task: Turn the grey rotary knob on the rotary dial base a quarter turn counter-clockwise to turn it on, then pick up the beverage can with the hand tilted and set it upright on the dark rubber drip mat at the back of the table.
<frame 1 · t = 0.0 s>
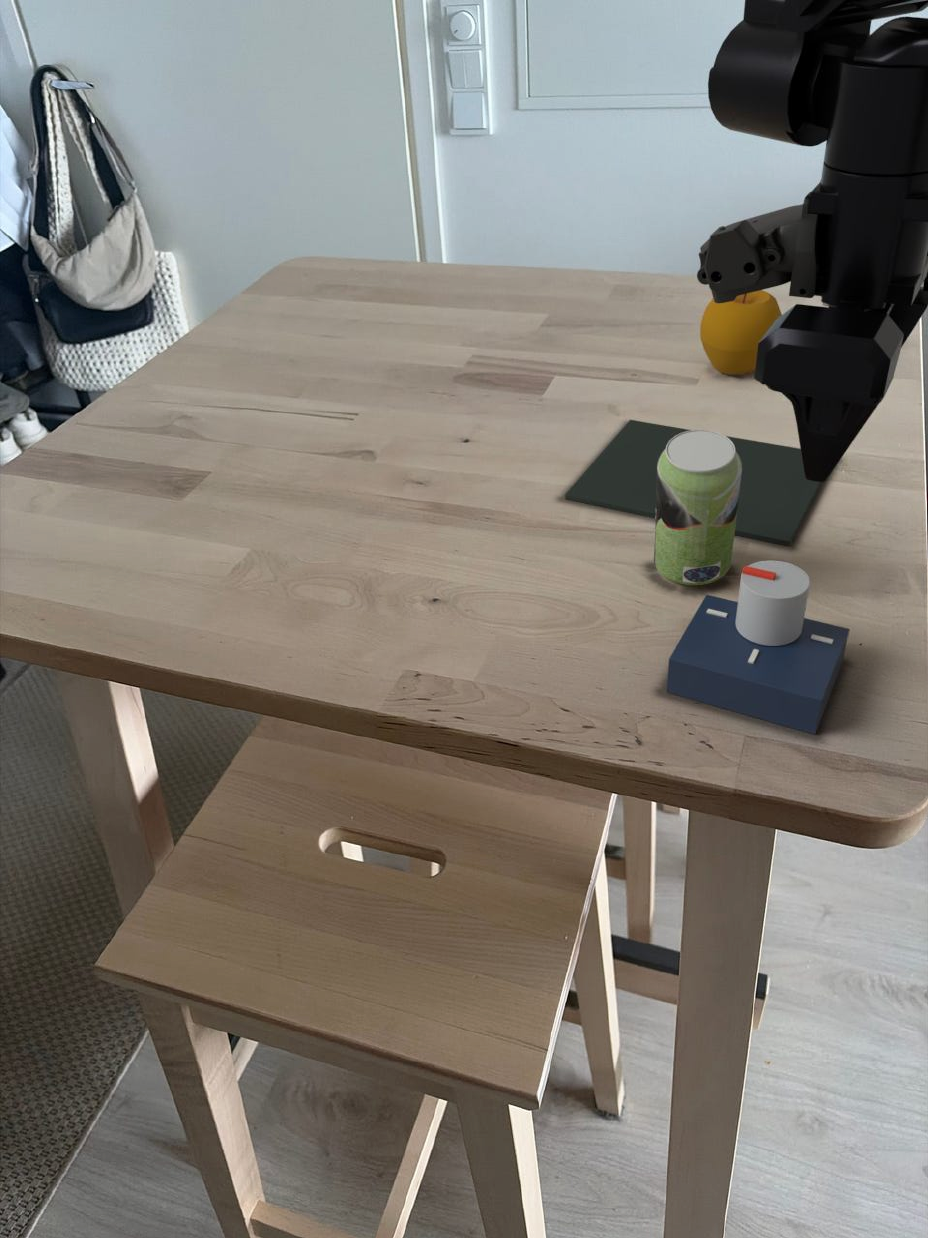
hand: (834, 444, 59), 17 cm above the table, tool pointing down, fingers open, 9 cm apart
apple: (735, 372, 109), on the table
drip mat: (701, 478, 91), on the table
grey rotary knob: (772, 601, 67), point 5 cm above the table, hinge at 0.0°
rotary dial base: (755, 677, 69), on the table
beverage can: (690, 577, 79), on the table
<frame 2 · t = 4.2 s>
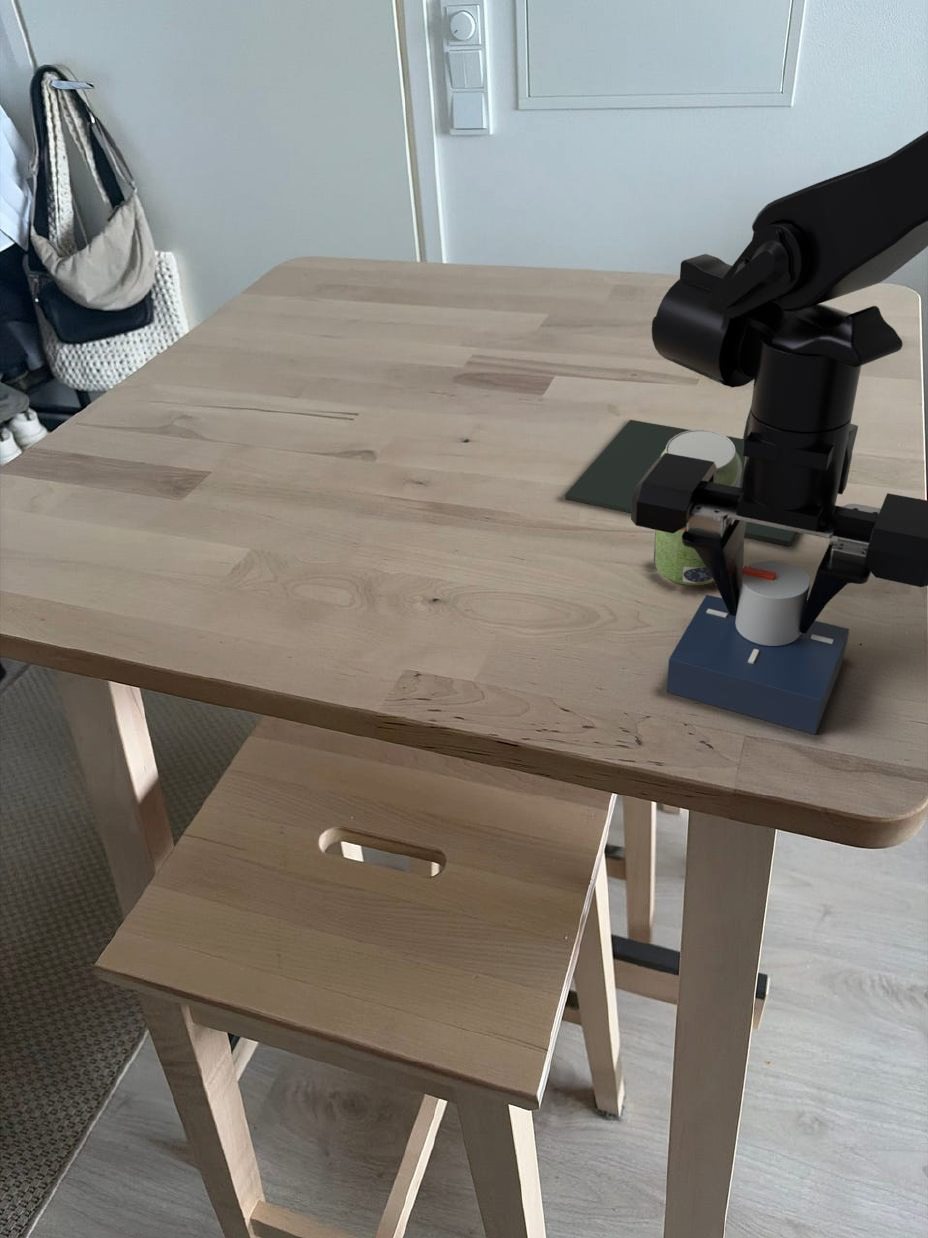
hand: (769, 620, 68), 4 cm above the table, tool pointing down, fingers closed on grey rotary knob, 4 cm apart
grey rotary knob: (772, 601, 67), point 5 cm above the table, hinge at 0.0°, touching gripper
everything else where it was.
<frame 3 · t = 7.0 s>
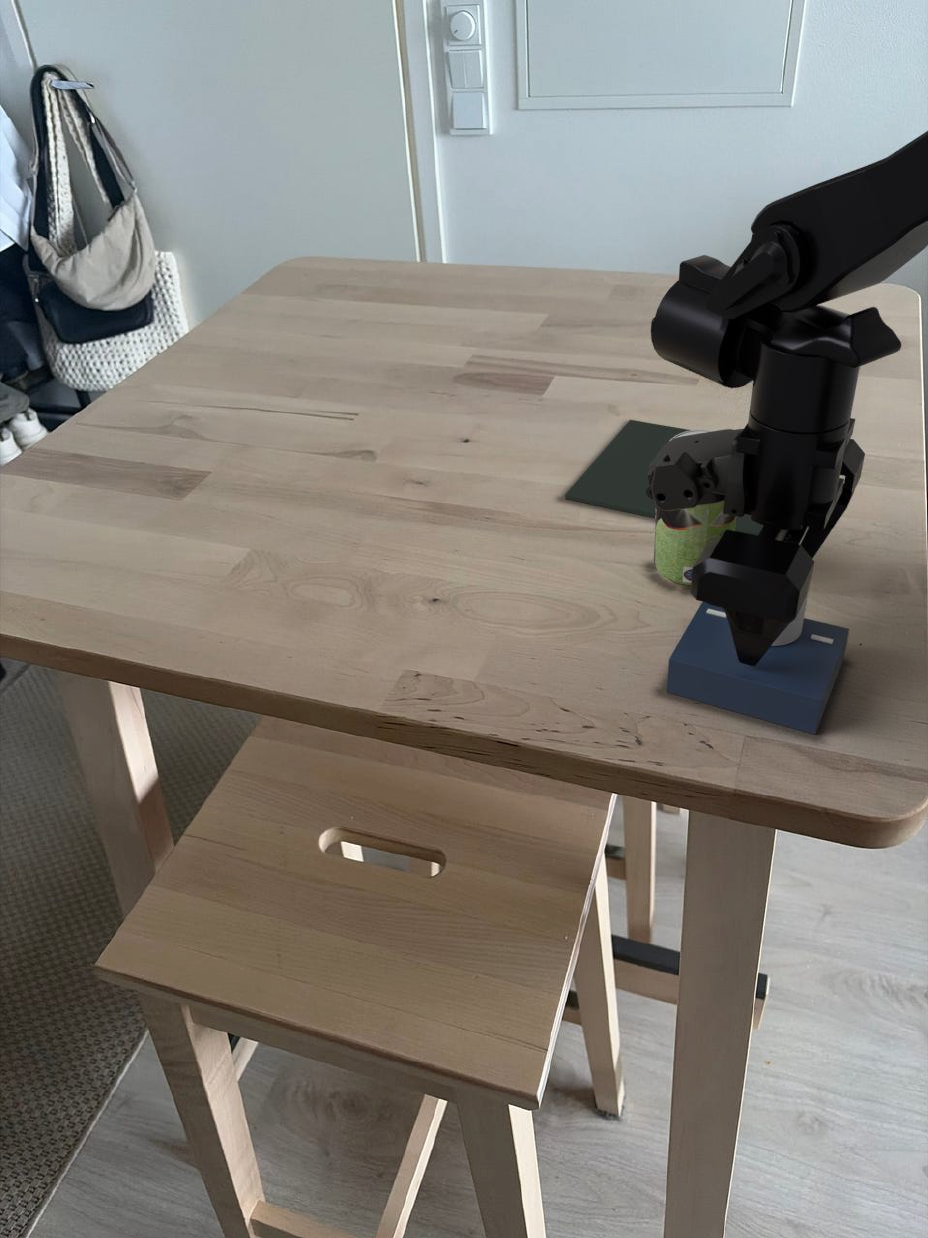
hand: (767, 621, 68), 3 cm above the table, tool pointing down, fingers open, 9 cm apart
grey rotary knob: (772, 601, 67), point 5 cm above the table, hinge at 90.2°
everything else where it was.
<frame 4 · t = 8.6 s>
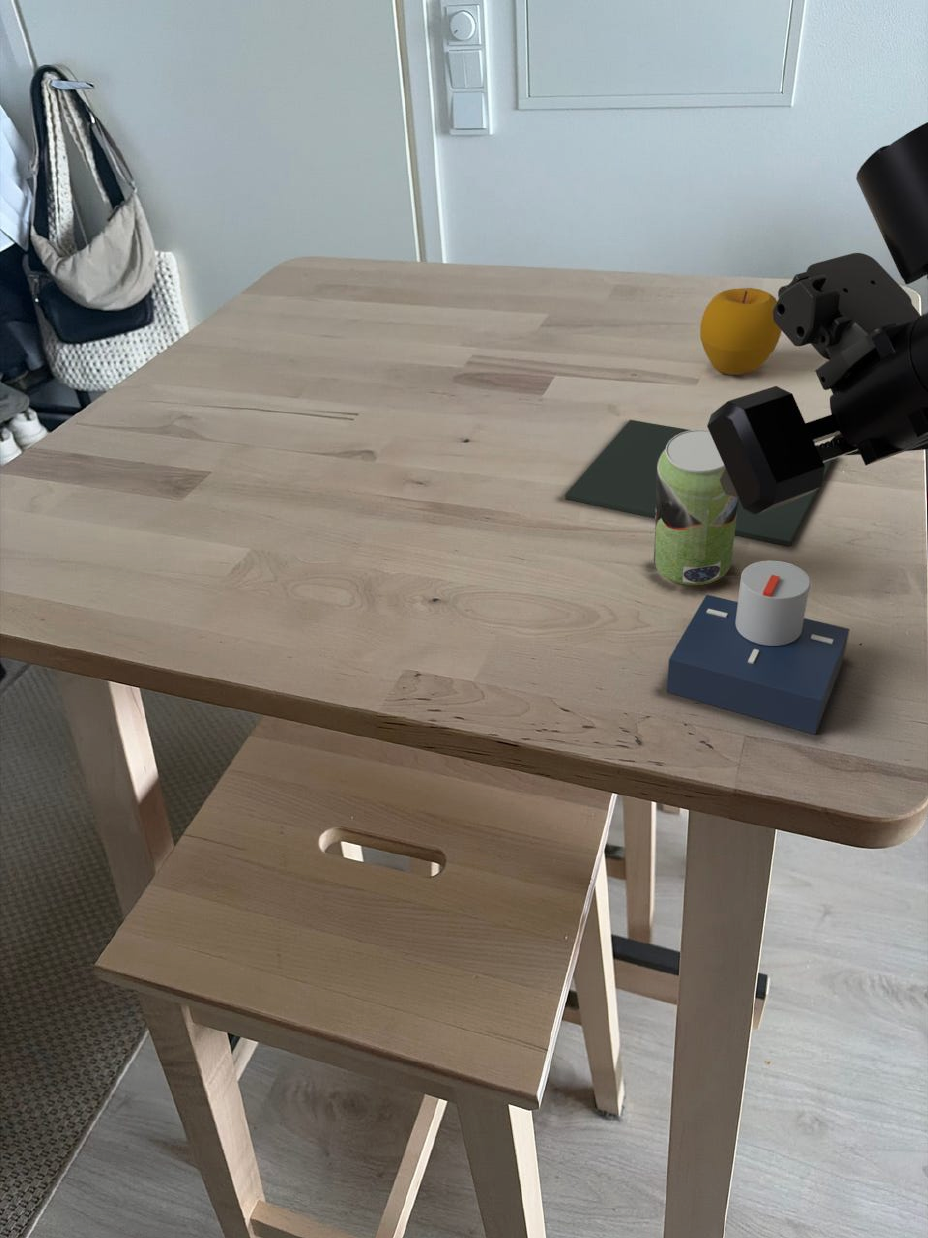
hand: (780, 467, 65), 13 cm above the table, tool tilted 45°, fingers open, 9 cm apart
nothing on the table moved.
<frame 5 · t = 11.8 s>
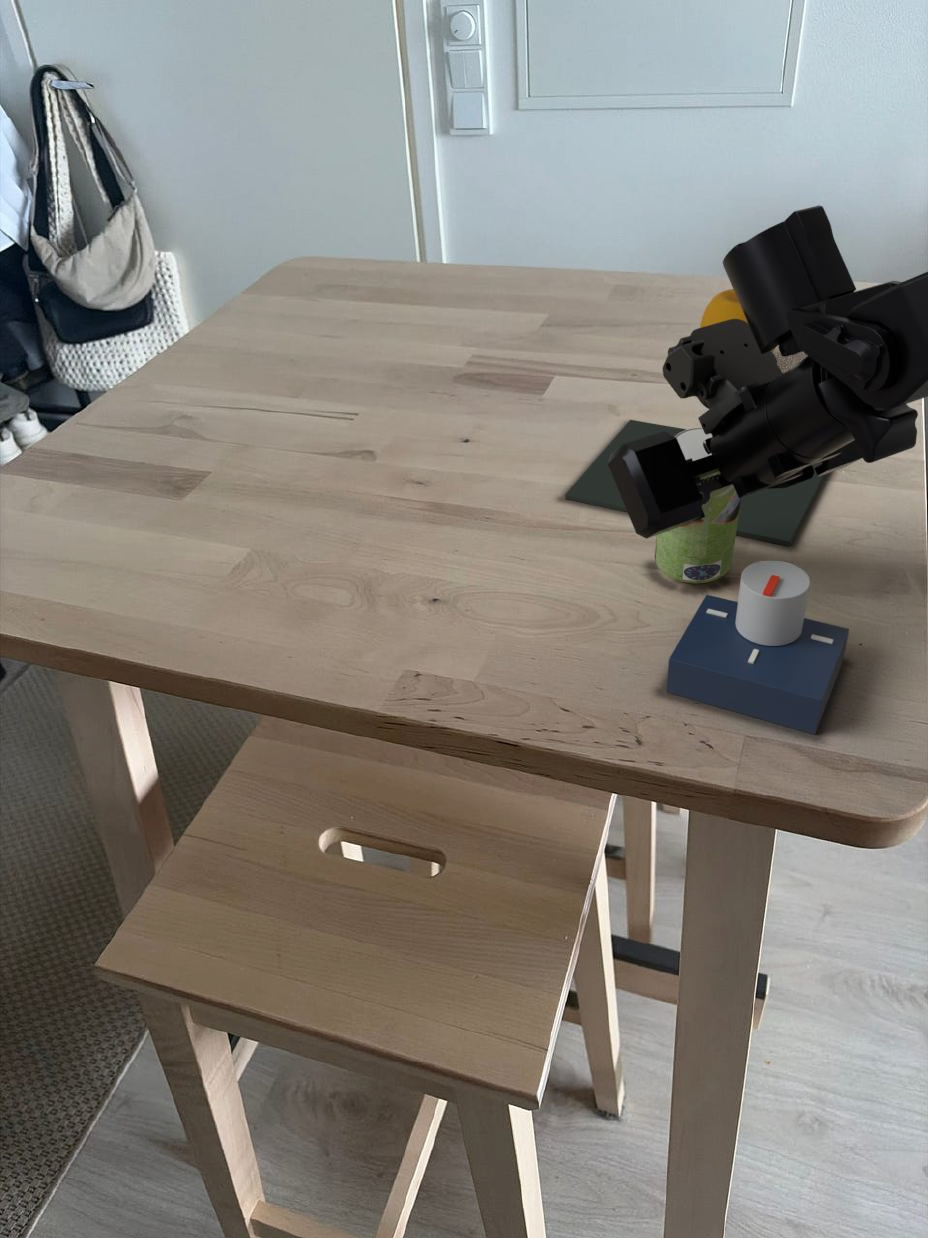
hand: (680, 493, 76), 7 cm above the table, tool tilted 45°, fingers closed on beverage can, 6 cm apart
beverage can: (690, 575, 79), on the table, touching gripper
everything else where it was.
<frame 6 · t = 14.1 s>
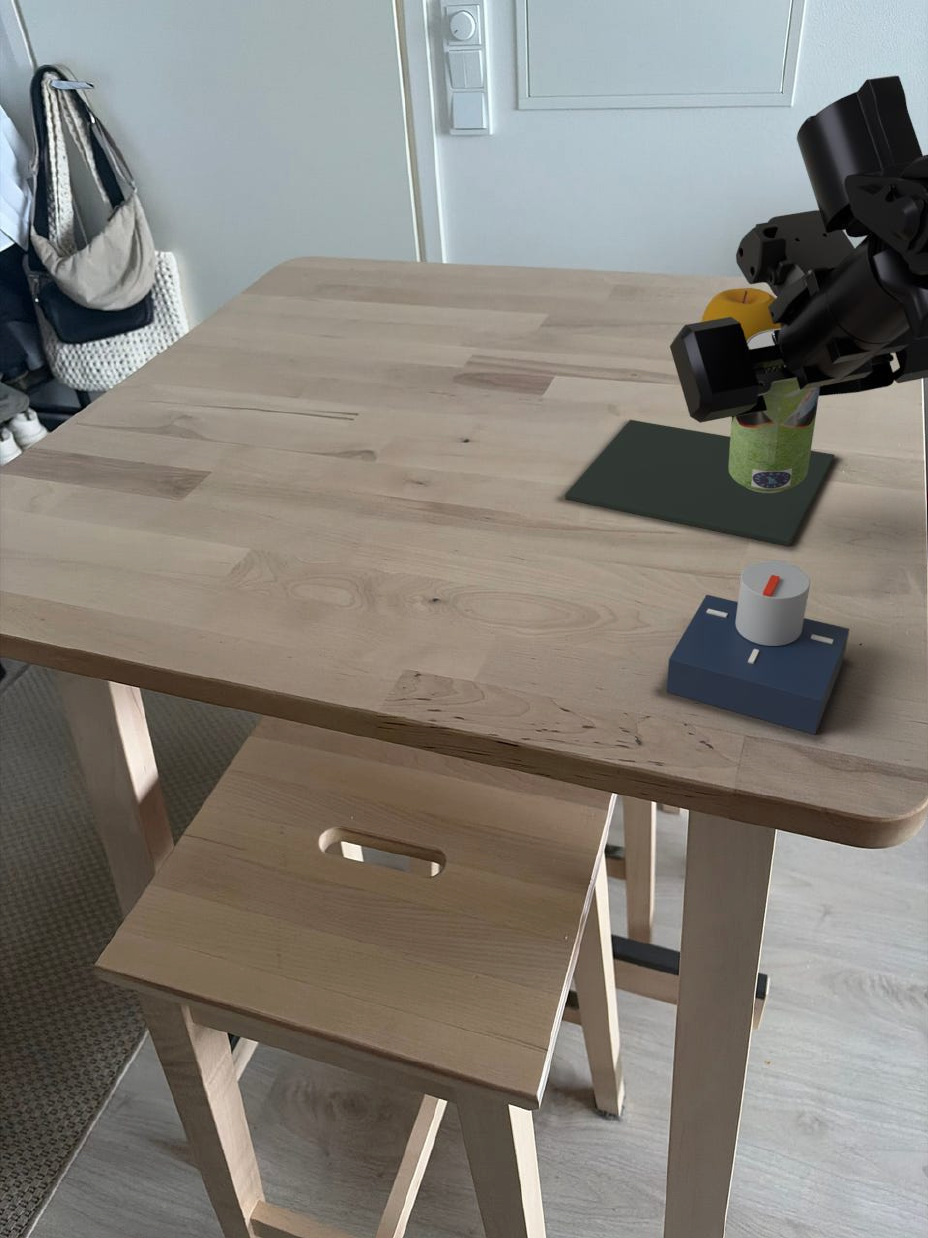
hand: (758, 398, 75), 12 cm above the table, tool tilted 45°, fingers closed on beverage can, 6 cm apart
beverage can: (763, 486, 78), point 6 cm above the table, touching gripper
everything else where it was.
when the fingers open (7 cm above the table, at t = 16.5 s): beverage can stays where it is, resting on drip mat.
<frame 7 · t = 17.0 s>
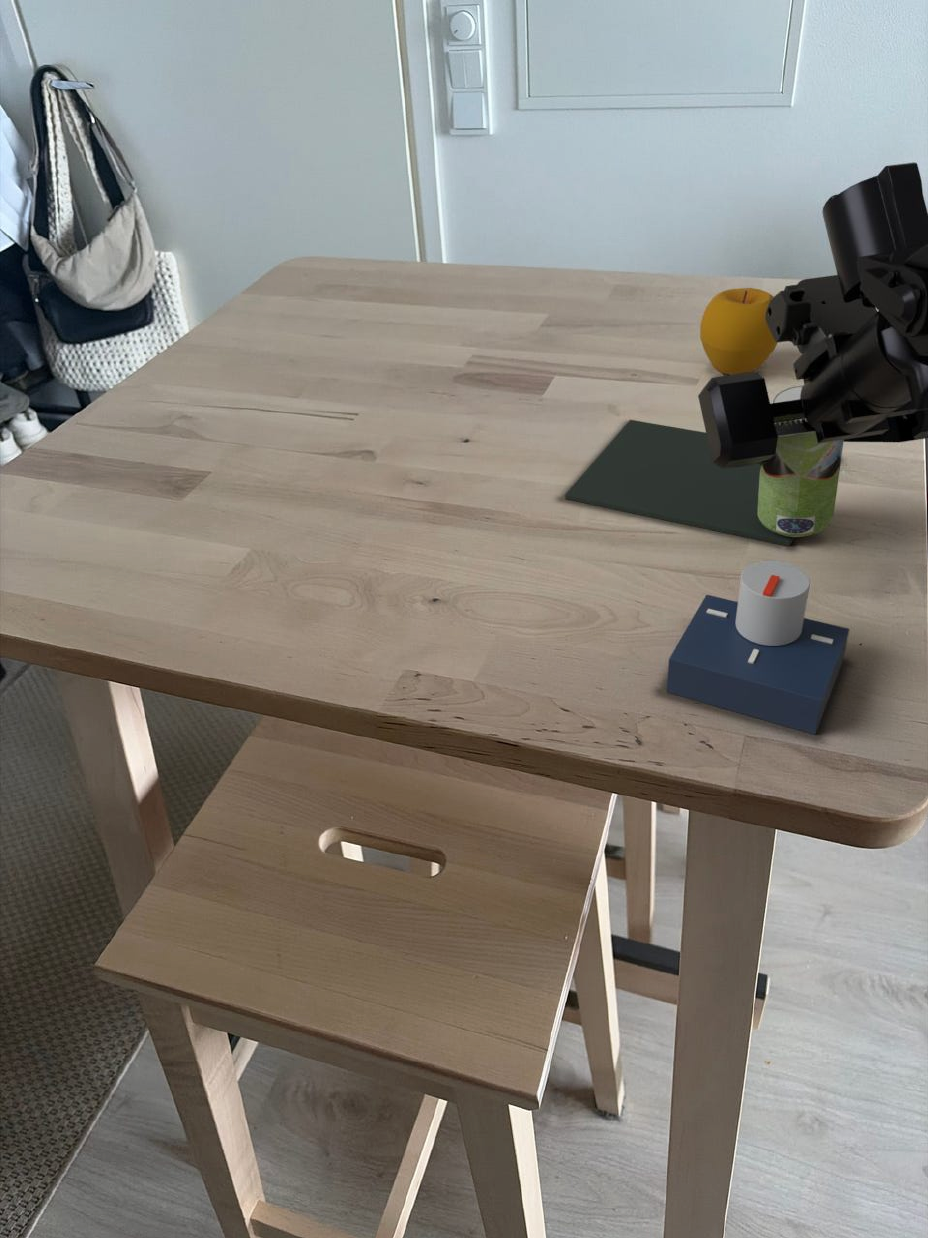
hand: (787, 443, 80), 8 cm above the table, tool tilted 45°, fingers open, 9 cm apart
beverage can: (789, 529, 83), resting on drip mat
everything else where it was.
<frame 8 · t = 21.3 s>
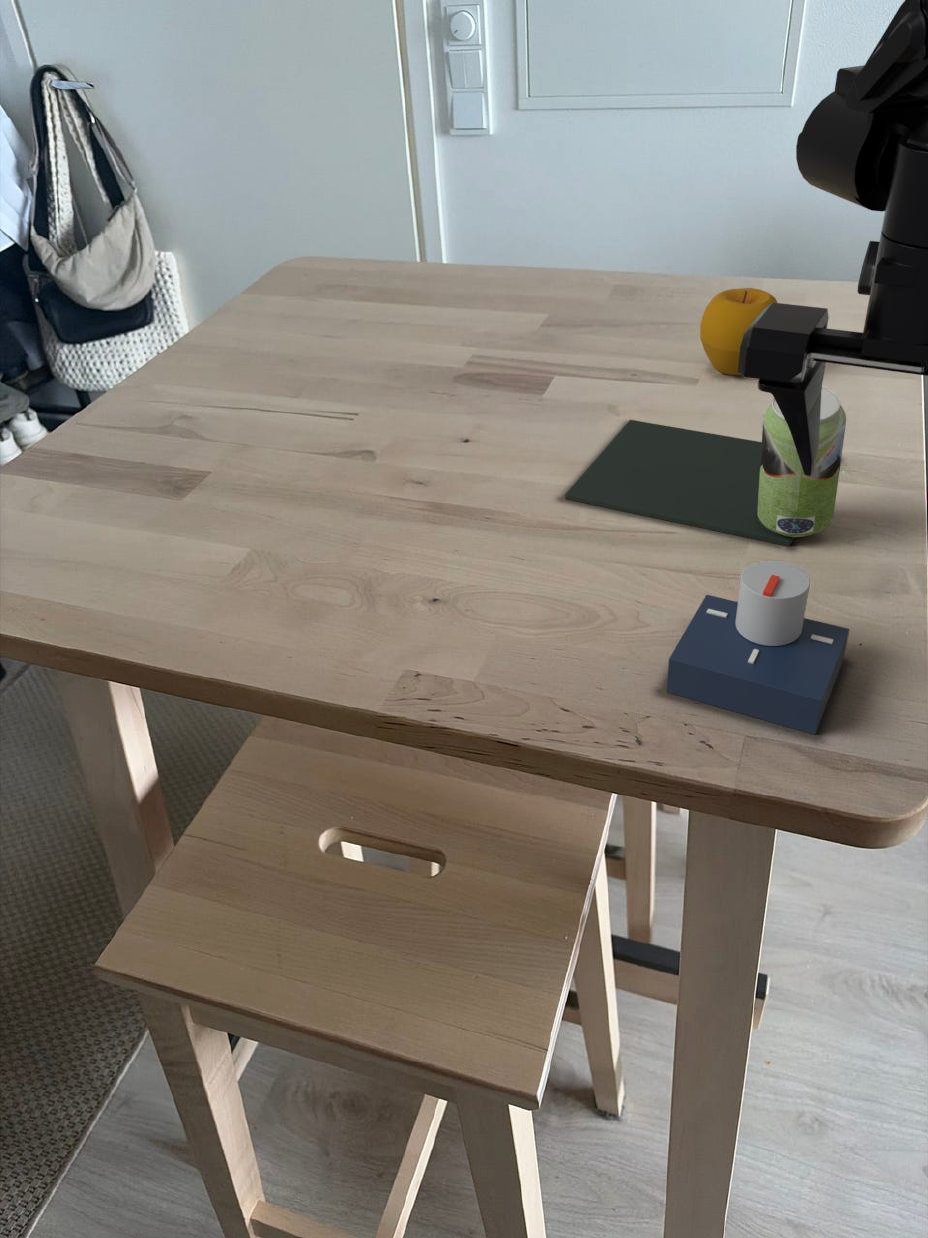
hand: (883, 486, 63), 13 cm above the table, tool pointing down, fingers open, 9 cm apart
nothing on the table moved.
at the end: grey rotary knob at +90° (first picture: +0°); beverage can inside the target area on the drip mat (11.2 cm from its centre), point 0.3 cm above the drip mat's base; beverage can tilted 0° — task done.
